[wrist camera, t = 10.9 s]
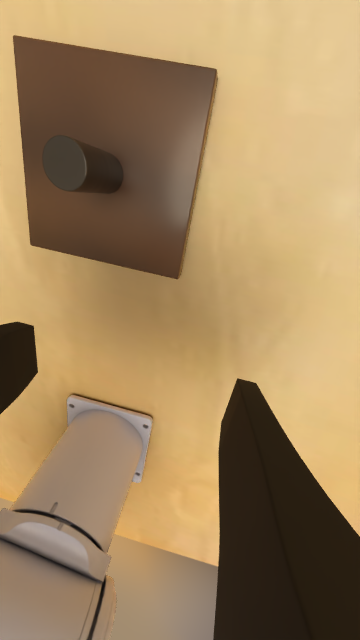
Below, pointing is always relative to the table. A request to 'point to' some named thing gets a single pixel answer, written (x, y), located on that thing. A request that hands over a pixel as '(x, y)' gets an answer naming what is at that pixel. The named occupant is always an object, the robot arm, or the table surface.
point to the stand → (111, 151)
